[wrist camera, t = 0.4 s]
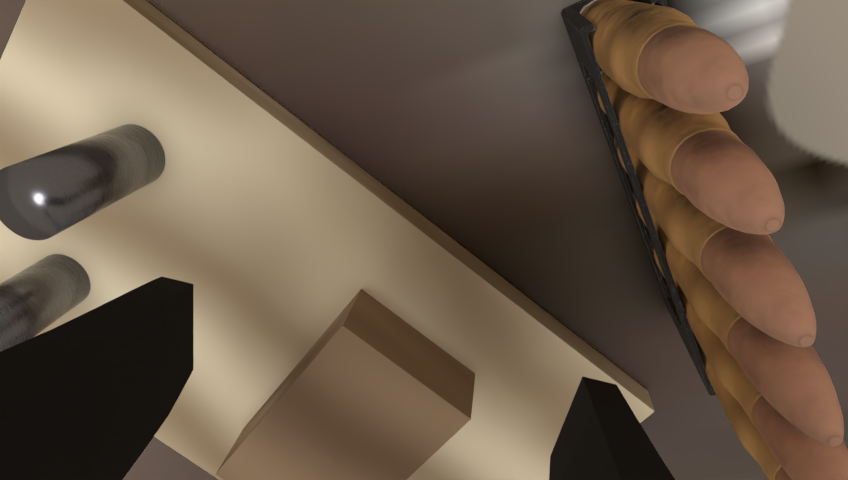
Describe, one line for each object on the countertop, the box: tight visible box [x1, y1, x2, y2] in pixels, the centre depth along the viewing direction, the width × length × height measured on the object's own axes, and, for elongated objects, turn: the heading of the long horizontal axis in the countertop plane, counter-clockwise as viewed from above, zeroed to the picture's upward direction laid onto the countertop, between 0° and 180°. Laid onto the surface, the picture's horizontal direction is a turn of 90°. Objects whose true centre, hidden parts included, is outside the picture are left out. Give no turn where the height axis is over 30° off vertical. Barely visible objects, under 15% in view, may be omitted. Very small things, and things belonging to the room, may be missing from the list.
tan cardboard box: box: [216, 289, 475, 480], centre depth 22 cm, size 8×5×2 cm, turn 142°
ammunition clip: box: [561, 0, 848, 480], centre depth 14 cm, size 11×2×12 cm, turn 25°
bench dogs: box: [0, 124, 165, 352], centre depth 20 cm, size 8×2×6 cm, turn 142°
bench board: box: [0, 0, 655, 480], centre depth 23 cm, size 14×24×1 cm, turn 52°
